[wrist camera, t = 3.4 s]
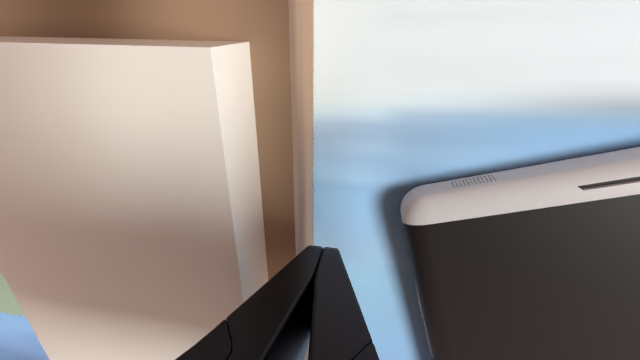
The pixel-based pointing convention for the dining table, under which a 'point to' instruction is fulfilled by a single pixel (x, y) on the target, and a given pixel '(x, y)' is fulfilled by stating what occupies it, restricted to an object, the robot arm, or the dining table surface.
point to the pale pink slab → (128, 191)
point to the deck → (267, 77)
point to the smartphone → (530, 261)
